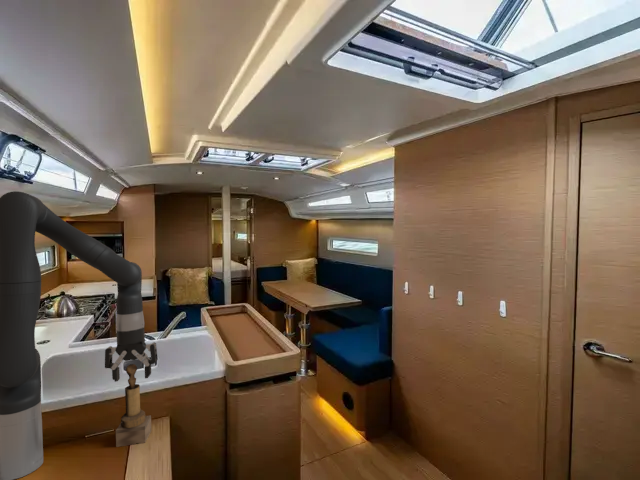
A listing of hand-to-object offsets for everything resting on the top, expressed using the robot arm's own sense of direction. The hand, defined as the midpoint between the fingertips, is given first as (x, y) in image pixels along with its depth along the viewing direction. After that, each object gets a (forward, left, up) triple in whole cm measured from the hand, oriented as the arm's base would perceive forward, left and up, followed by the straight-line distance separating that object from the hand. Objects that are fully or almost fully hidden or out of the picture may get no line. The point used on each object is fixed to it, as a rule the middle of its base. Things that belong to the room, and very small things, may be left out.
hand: (132, 378), depth 104 cm
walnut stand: (0, 0, -19) cm, 19 cm away
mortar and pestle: (0, 0, -14) cm, 14 cm away
